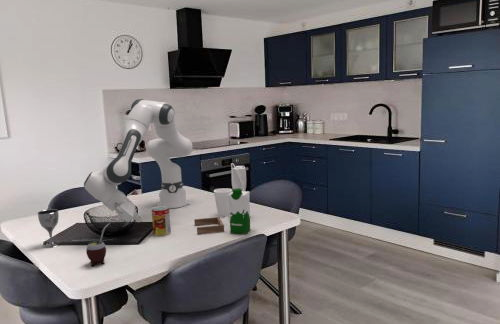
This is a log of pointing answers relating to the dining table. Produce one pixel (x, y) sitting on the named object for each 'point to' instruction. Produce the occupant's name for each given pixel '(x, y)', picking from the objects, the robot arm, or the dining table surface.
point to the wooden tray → (209, 228)
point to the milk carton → (239, 211)
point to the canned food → (161, 220)
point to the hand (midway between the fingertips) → (140, 220)
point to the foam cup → (222, 201)
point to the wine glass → (49, 223)
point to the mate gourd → (97, 251)
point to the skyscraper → (238, 177)
